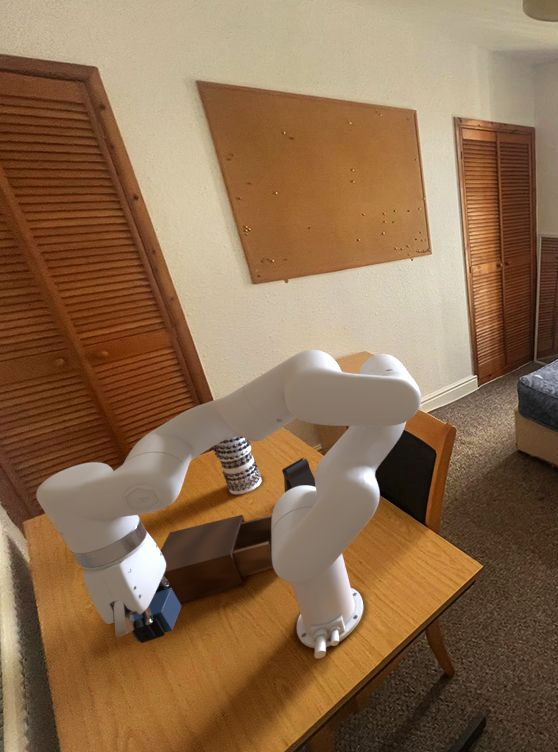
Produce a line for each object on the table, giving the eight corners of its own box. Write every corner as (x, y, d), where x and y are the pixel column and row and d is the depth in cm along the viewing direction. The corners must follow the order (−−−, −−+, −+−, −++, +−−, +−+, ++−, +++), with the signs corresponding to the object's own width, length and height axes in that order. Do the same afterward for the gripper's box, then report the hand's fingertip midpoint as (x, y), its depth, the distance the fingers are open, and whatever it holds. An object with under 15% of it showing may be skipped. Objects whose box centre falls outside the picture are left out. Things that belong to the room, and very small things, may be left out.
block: (172, 630, 65) (161, 612, 64) (137, 642, 64) (125, 623, 62) (181, 606, 69) (171, 587, 67) (149, 616, 68) (137, 597, 66)
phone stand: (323, 496, 117) (314, 462, 112) (304, 509, 112) (294, 474, 107) (304, 486, 121) (295, 453, 116) (285, 498, 116) (274, 464, 111)
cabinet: (253, 543, 101) (242, 514, 97) (243, 585, 90) (230, 554, 86) (183, 562, 96) (169, 532, 92) (164, 608, 85) (147, 576, 82)
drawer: (310, 527, 105) (303, 504, 101) (307, 561, 95) (300, 536, 92) (232, 548, 99) (222, 524, 96) (220, 586, 89) (209, 561, 86)
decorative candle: (251, 495, 117) (225, 421, 108) (220, 495, 118) (192, 421, 108) (269, 475, 126) (247, 405, 116) (240, 475, 126) (215, 405, 116)
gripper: (108, 510, 65) (153, 587, 73) (42, 600, 51) (106, 685, 58) (163, 497, 68) (201, 573, 75) (116, 579, 53) (169, 663, 61)
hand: (159, 621), depth 66 cm, fingers closed on block, 4 cm apart
